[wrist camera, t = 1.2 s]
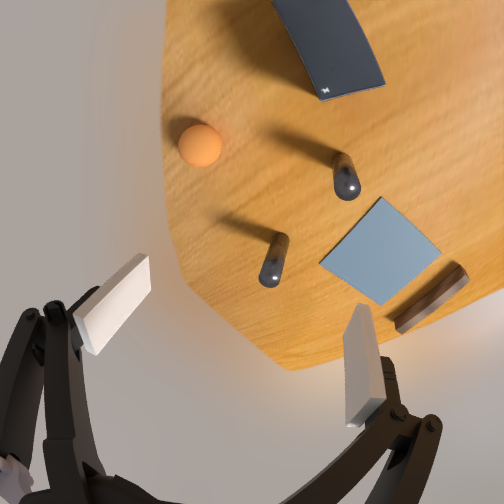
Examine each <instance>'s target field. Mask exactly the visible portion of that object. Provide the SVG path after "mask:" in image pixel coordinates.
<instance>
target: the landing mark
mask: <svg viewBox="0 0 504 504" xmlns="http://www.w3.org/2000/svg"><path fill="white" fill-rule="evenodd" d="M441 254H442V253H441V252H440V251H439V250H438V249H437V248H436V247H435V246H434V245H433V244H432V243H431V242H430V241H429V240H428V239H427V238H426V237H425V236H424V235H423V234H422V233H421V232H420V231H419V230H418V229H417V228H416V227H415V226H414V225H413V224H412V223H411V222H409V221H408V220H407V219H406V218H405V217H404V216H403V215H402V214H401V213H400V212H398V211H397V210H396V209H395V208H394V207H393V206H392V205H390V204H389V203H388V202H387V201H386V200H385V199H383V198H382V197H381V198H380V199H379V200H378V202H377V203H376V204H375V205H374V206H373V207H372V208H371V209H370V210H369V212H368V213H367V214H366V215H365V216H364V217H363V218H362V219H361V220H360V221H359V223H358V224H357V225H356V226H355V227H354V228H353V229H352V230H351V231H350V232H349V233H348V234H347V236H346V237H345V238H344V239H343V240H342V241H341V242H340V243H339V244H338V245H337V246H336V247H335V248H334V249H333V250H332V251H331V252H330V253H329V254H328V255H327V256H326V258H325V259H324V260H323V261H322V262H321V263H320V265H321V266H323V267H324V268H326V269H327V270H329V271H330V272H332V273H333V274H335V275H336V276H338V277H339V278H341V279H342V280H344V281H345V282H347V283H348V284H350V285H351V286H353V287H354V288H356V289H357V290H359V291H360V292H362V293H363V294H365V295H366V296H368V297H369V298H370V299H372V300H373V301H375V302H376V303H378V304H379V305H381V306H382V305H383V304H384V303H385V302H387V301H388V300H389V299H390V298H392V297H393V296H394V295H395V294H396V293H398V292H399V291H400V290H401V289H403V288H404V287H405V286H406V285H407V284H408V283H410V282H411V281H412V280H413V279H414V278H415V277H417V276H418V275H419V274H420V273H421V272H422V271H423V270H424V269H425V268H427V267H428V266H429V265H430V264H431V263H432V262H433V261H434V260H435V259H436V258H437V257H438V256H439V255H441Z"/></svg>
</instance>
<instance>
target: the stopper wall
mask: <svg viewBox="0 0 504 504" xmlns="http://www.w3.org/2000/svg"><path fill="white" fill-rule="evenodd" d="M469 281H470V279H469V277H468V275H467V273H466V271H465V270H464V269H463V267H462V266H461V265H460V266H459V267H458V268H457V269H456V270H454V271H453V272H452V273H451V274H450V275H449V276H448V277H447V278H446V279H444V280H443V281H442V282H441V283H440V284H439V285H438V286H436V287H435V288H434V289H433V290H432V291H430V292H429V293H428V294H427V295H426V296H424V297H423V298H422V299H421V300H419V301H418V302H417V303H416V304H414V305H413V306H412V307H411V308H409V309H408V310H407V311H405V312H404V313H403V314H401V315H400V316H399V317H397V318H396V319H395V320H394V322H395V329H396V331H398V332H399V333H401V334H403V333H405V332H406V331H408V330H409V329H411V328H412V327H413V326H415V325H416V324H418V323H419V322H420V321H422V320H423V319H424V318H426V317H427V316H428V315H430V314H431V313H432V312H434V311H435V310H436V309H437V308H439V307H440V306H441V305H442V304H444V303H445V302H446V301H447V300H449V299H450V298H451V297H452V296H453V295H455V294H456V293H457V292H458V291H459V290H460V289H462V288H463V287H464V286H465V285H466V284H467V283H468V282H469Z"/></svg>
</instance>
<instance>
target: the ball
mask: <svg viewBox="0 0 504 504" xmlns="http://www.w3.org/2000/svg"><path fill="white" fill-rule="evenodd" d="M221 149H222V141H221V137H220V135H219V134H218V132H217V131H216V130H215V129H214V128H212V127H210V126H208V125H202V124H199V125H194V126H191V127H189V128H188V129H186V130H185V131H184V132H183V134H182V135H181V137H180V139H179V142H178V151H179V154H180V156H181V158H182V159H183V160H184V161H185V162H186V163H187V164H189V165H191V166H194V167H204V166H207V165H210V164H211V163H213V162H214V161H215V160H216V159H217V158H218V156H219V155H220V152H221Z"/></svg>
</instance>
